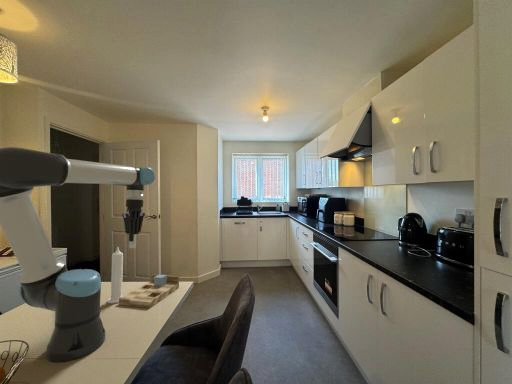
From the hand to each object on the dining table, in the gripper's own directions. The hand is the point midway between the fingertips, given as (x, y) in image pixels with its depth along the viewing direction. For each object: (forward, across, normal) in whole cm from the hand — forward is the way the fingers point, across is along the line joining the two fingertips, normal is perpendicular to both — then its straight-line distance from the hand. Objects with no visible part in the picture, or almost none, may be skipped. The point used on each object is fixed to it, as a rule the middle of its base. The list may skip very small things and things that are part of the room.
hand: (132, 247), depth 112 cm
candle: (+25, -3, +5) cm, 25 cm away
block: (+21, +13, -7) cm, 26 cm away
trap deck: (+24, +6, -7) cm, 26 cm away
